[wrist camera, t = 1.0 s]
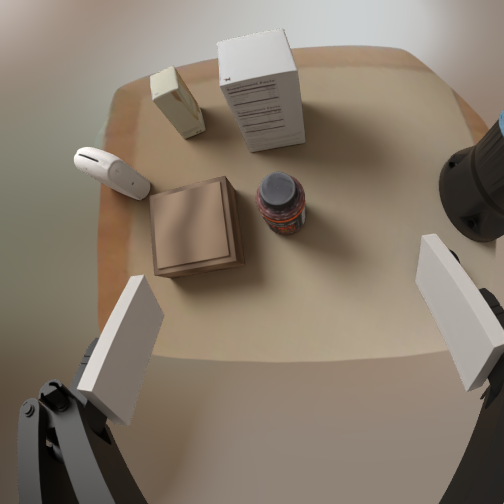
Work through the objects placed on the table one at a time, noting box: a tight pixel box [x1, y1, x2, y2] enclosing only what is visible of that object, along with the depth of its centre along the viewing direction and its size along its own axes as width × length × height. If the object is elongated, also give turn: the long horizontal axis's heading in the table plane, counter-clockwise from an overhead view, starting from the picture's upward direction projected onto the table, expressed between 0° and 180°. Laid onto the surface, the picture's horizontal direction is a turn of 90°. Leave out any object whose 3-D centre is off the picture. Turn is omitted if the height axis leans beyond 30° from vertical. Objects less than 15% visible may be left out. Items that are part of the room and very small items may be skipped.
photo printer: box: [74, 147, 150, 200], centre depth 44 cm, size 10×4×12 cm, turn 64°
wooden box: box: [150, 176, 245, 278], centre depth 43 cm, size 12×12×5 cm
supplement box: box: [217, 29, 306, 152], centre depth 38 cm, size 10×9×17 cm
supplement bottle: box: [256, 172, 306, 235], centre depth 38 cm, size 6×6×11 cm
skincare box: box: [150, 66, 205, 139], centre depth 44 cm, size 6×4×12 cm
